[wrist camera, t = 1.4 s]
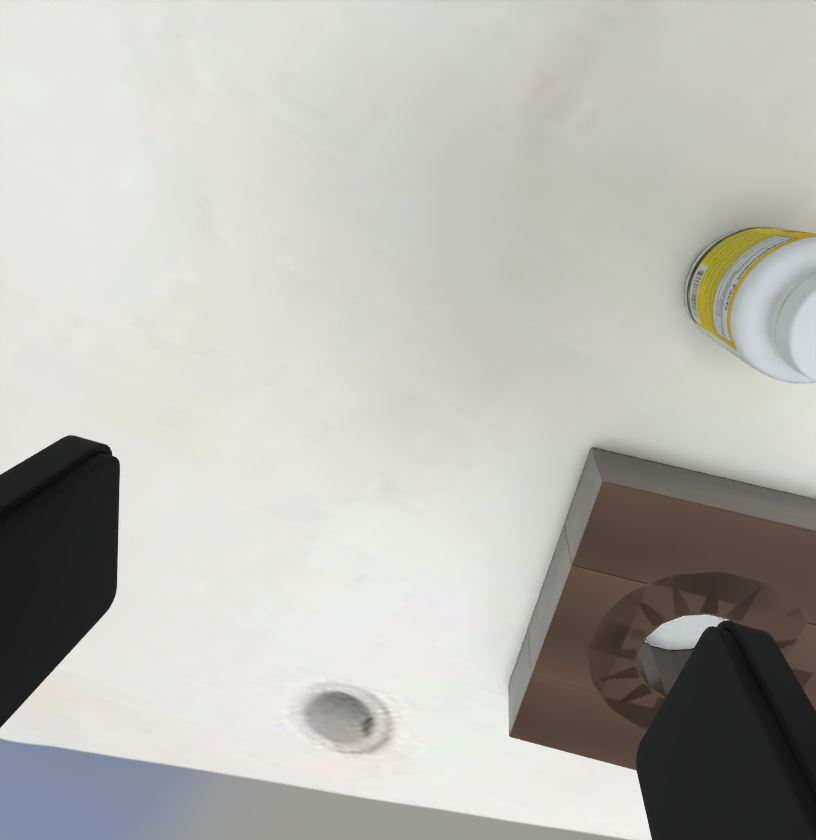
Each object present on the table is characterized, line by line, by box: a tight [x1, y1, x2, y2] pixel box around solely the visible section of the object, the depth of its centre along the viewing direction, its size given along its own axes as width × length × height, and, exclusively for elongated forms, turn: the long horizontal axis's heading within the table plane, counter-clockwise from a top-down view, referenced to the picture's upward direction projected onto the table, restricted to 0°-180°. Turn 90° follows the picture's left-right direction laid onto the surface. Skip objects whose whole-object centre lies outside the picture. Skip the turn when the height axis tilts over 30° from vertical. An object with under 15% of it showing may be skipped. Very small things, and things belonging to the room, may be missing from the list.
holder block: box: [509, 448, 816, 770], centre depth 33 cm, size 18×16×4 cm
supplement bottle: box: [685, 227, 816, 383], centre depth 23 cm, size 5×5×10 cm
